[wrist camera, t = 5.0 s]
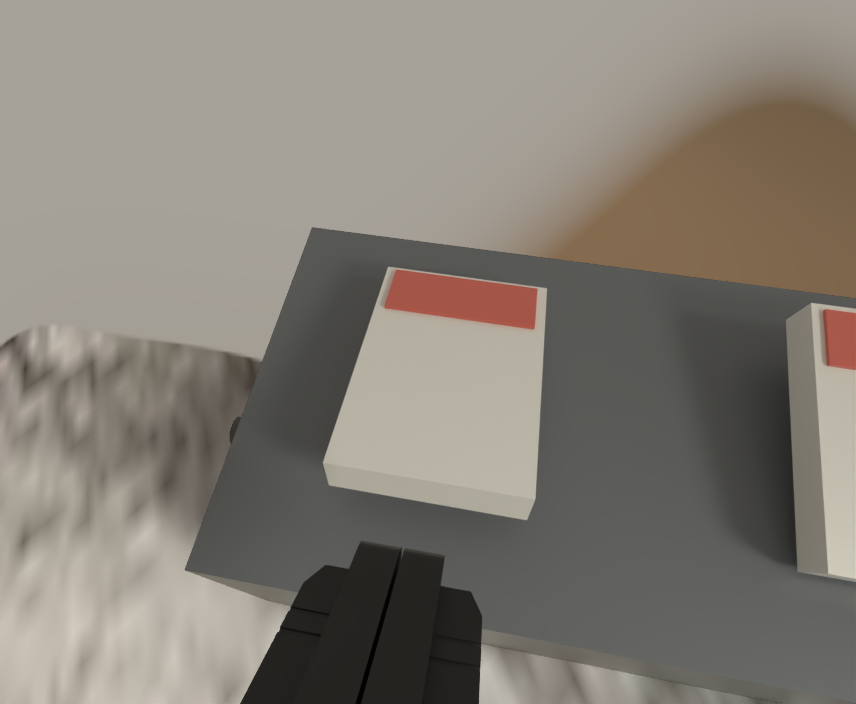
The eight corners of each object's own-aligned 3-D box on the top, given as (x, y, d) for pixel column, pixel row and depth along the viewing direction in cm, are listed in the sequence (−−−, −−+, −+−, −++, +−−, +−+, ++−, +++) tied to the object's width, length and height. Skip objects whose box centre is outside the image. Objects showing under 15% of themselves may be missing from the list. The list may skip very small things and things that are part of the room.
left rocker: (540, 315, 18) (547, 285, 17) (527, 520, 13) (536, 496, 12) (389, 293, 18) (387, 263, 17) (328, 485, 14) (322, 459, 13)
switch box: (847, 410, 25) (1016, 307, 18) (916, 730, 19) (1213, 773, 12) (292, 327, 28) (241, 207, 21) (200, 587, 22) (81, 549, 15)
